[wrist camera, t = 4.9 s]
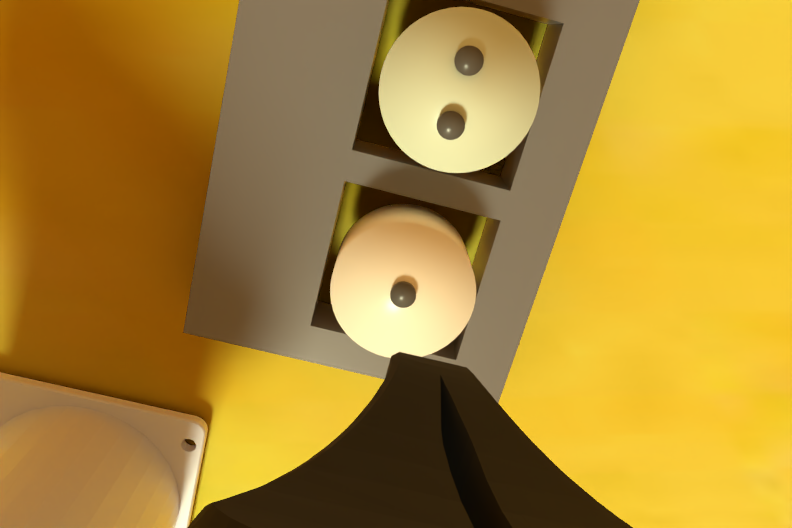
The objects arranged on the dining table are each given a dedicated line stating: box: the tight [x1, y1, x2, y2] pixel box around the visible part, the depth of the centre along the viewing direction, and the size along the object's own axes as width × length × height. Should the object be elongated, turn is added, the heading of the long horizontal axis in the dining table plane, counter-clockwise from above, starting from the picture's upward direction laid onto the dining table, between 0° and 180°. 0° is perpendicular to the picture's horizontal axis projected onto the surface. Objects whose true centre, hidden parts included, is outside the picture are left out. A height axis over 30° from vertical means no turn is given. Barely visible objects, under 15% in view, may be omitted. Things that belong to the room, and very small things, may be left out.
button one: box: [330, 204, 476, 358], centre depth 19 cm, size 4×4×2 cm
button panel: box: [183, 0, 639, 403], centre depth 19 cm, size 18×10×2 cm, turn 166°
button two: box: [379, 7, 540, 173], centre depth 17 cm, size 4×4×2 cm
